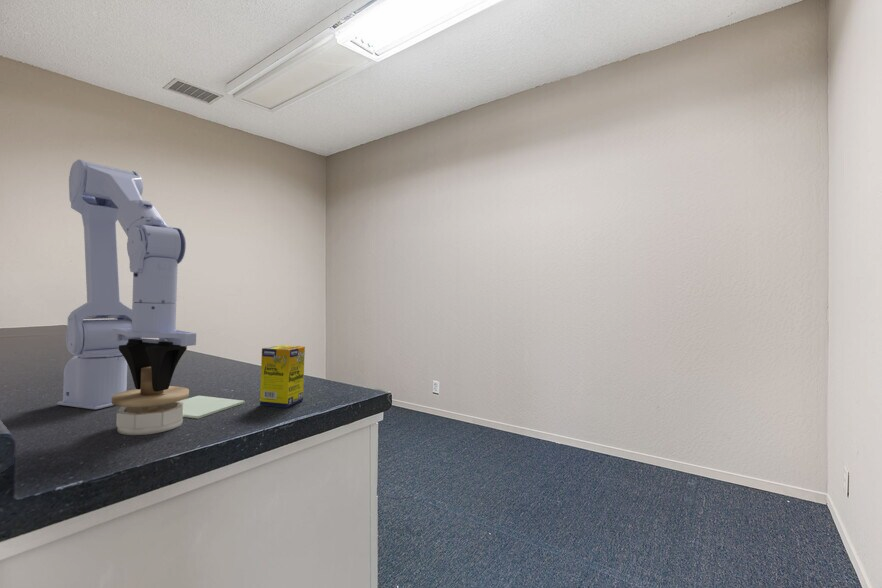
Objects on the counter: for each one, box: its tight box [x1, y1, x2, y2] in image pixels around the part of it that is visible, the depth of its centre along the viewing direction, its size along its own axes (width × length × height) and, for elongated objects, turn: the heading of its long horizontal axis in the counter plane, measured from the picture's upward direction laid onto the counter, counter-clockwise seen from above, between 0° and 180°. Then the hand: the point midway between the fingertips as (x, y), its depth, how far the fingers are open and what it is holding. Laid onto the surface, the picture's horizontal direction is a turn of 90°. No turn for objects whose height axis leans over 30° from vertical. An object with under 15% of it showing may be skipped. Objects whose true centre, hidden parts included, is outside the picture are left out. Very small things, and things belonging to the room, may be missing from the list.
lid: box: [111, 367, 190, 407], centre depth 66 cm, size 10×10×5 cm
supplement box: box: [259, 344, 306, 409], centre depth 82 cm, size 6×6×11 cm
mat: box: [181, 395, 246, 420], centre depth 77 cm, size 11×11×1 cm
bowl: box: [115, 401, 184, 436], centre depth 66 cm, size 8×8×3 cm
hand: (152, 389), depth 66 cm, fingers closed on lid, 3 cm apart
